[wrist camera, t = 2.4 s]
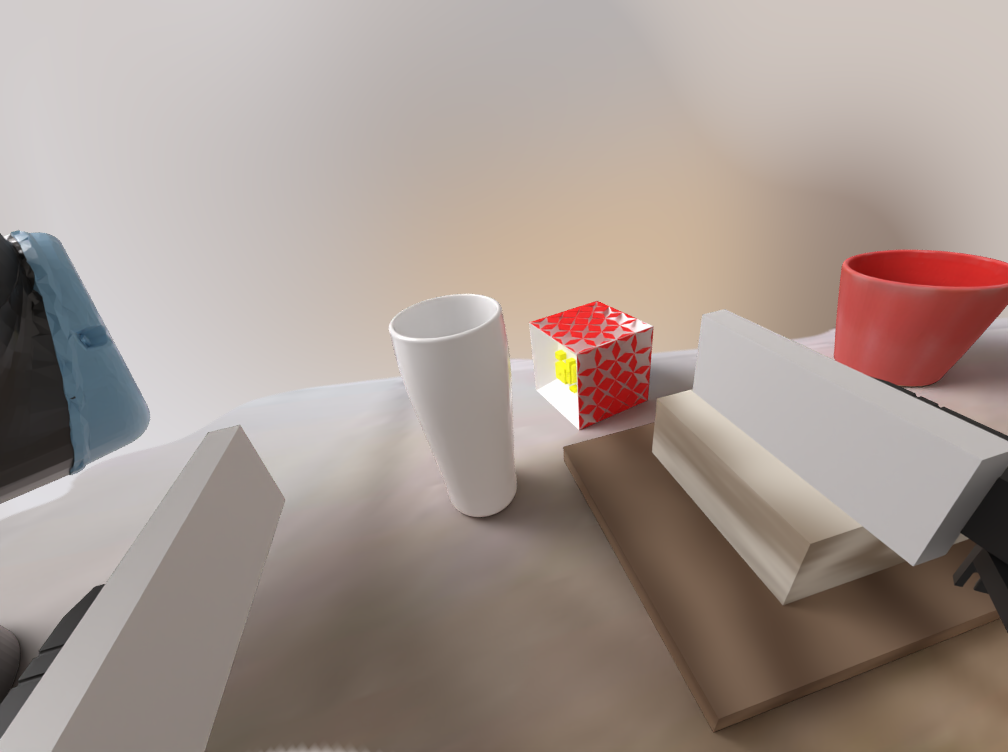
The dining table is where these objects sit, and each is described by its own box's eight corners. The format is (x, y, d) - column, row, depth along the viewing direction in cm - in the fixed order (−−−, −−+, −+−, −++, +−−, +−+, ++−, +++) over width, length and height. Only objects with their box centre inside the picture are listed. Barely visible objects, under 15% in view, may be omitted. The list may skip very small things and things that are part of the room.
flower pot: (834, 330, 44) (864, 242, 39) (977, 361, 37) (1037, 256, 32) (796, 369, 39) (825, 273, 34) (953, 414, 32) (1021, 298, 27)
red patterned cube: (536, 390, 42) (529, 322, 38) (597, 367, 44) (596, 300, 40) (579, 431, 36) (577, 354, 31) (648, 401, 38) (654, 326, 34)
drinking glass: (479, 451, 35) (444, 287, 27) (544, 480, 31) (525, 300, 23) (422, 504, 31) (362, 327, 23) (490, 546, 27) (445, 351, 19)
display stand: (713, 732, 17) (741, 663, 14) (564, 460, 33) (560, 396, 29) (1120, 570, 21) (1221, 483, 17) (813, 392, 36) (835, 327, 33)
